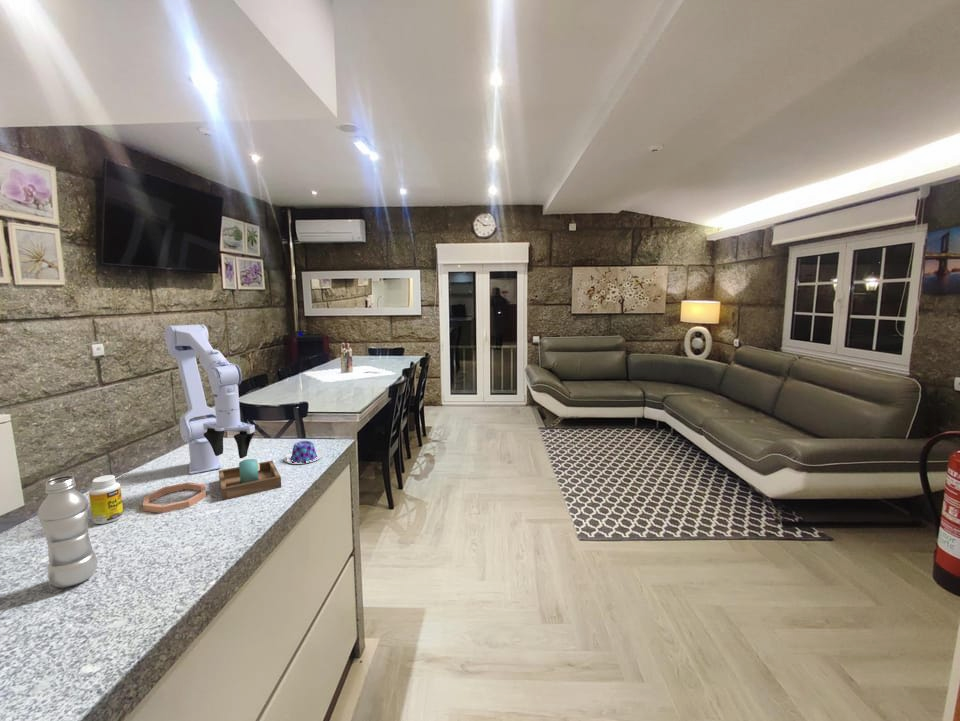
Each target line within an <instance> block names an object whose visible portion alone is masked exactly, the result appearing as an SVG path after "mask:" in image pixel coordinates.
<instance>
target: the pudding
mask: <svg viewBox="0 0 960 721" xmlns="http://www.w3.org/2000/svg"><path fill="white" fill-rule="evenodd" d="M316 453H318V454H319V457H318V456H317V454H316ZM291 454H292V456H291V459H290V460H293V461H292V462H299V463H292V462H288V461H287V457H288V456H290V455H291ZM316 457H318V458H317V459H316ZM323 457H324V453H323V452H322V451H320V450H316V448H315V446H314V443H313V442H312V441H310V440H309V441H308V440H302V441H298V442H295V443H294V445H293V446H292V452H291V453H289V454H287V455H285V456H284V458H283V461H285V462H286V463H289V464H294V465H295V464H297V465H299V464H300V465H301V464H303V463H302V462H306V461H308V462H306V463H305V464H307V463H312V462H315V461H317V460H320V459H321V458H323ZM314 459H315V460H314ZM309 460H313V461H310V462H309ZM300 461H301V462H300Z"/></svg>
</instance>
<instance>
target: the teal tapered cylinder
mask: <svg viewBox="0 0 960 721" xmlns="http://www.w3.org/2000/svg"><path fill="white" fill-rule="evenodd" d="M259 463H260V462H258V459H257V458H248V459H244V460H243V459H242V460H241V461H240V462H238V467H239V469H240V482H241V484H243V483H248V482H252V481H257V480H259V478H258V471H259V470H260V464H259Z"/></svg>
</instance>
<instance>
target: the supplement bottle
mask: <svg viewBox="0 0 960 721" xmlns="http://www.w3.org/2000/svg"><path fill="white" fill-rule="evenodd" d="M121 486H122V485H121V484H120V483H119V482H117V481H116V476H115V475H114V474H105V475H101V476H98V477H95V478H93V480H92V487H90V489H89V490H88V495H89V504H90V509H91V510H90V511H91V519H92V522H93V523H94V524H96V525H103V524H109V523H113V522H115V521H117V520H119V519H121V518H122V517H123V516H124V505H123V498H122V488H121Z"/></svg>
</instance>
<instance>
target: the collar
mask: <svg viewBox="0 0 960 721" xmlns="http://www.w3.org/2000/svg"><path fill="white" fill-rule="evenodd" d="M183 489H185V490H189V489H195V490H194V491H198V490H201V491H200V492H199V493H197V494H195V495H194V496H191V497H190V498H188V499H186V500H183V501H181V500H180V501H177V502H172V503H168V504H159V503H158V504H157V503H151V501H153V500H156V499H158V498H160V497H162V496H164V495H166V494H170V493H175V491H176V492H180V491H184V490H183ZM179 490H180V491H179ZM205 497H206V498H207V492H206V483H197V482H189V481H188V482H183V483H182V482H181V483H178V484H173V485H167V486H164V487H161V488H159V489H156V490H155V491H153V492H151V493H149V494H147V495H145V496H144V498H143V503H142V507H143V508H142V509H143V512H152V513H159V514H163V513H164V514H165V513H168V512H169V513H170V512H173V510H174V511H178V510H183V509H186V507H187V508H190V507H192V506H193V505H195V504H197V503H198V501H199V502H200V501H202V500H204V499H206V498H205ZM203 498H204V499H203ZM191 505H192V506H191ZM177 509H178V510H177Z"/></svg>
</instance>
